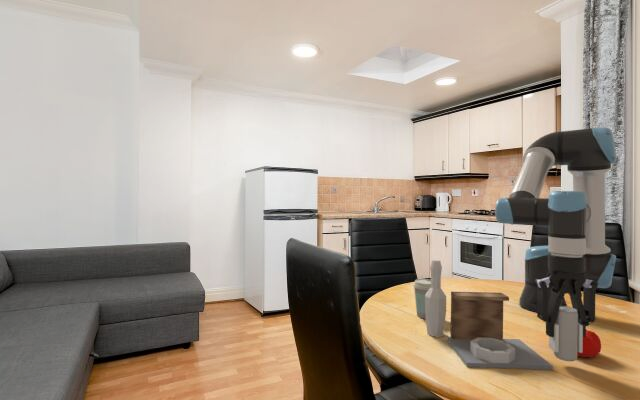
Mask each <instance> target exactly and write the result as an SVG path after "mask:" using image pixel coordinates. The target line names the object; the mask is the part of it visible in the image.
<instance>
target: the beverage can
mask: <svg viewBox="0 0 640 400" xmlns="http://www.w3.org/2000/svg"><path fill="white" fill-rule="evenodd" d="M556 324H558V325H559V352H555V351H553V355H554V356H555V357H556V358H557V359H559V360H561V361H565V362H575V361H576V360H577V359H578V356H577V341H578V313H577V310H576V309H574V308H573V307H571V306H568V305H567V306H560V308H559V312H558V315H557V319H556Z"/></svg>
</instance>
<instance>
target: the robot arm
mask: <svg viewBox="0 0 640 400" xmlns="http://www.w3.org/2000/svg"><path fill="white" fill-rule="evenodd" d="M614 138H615V137H614V134H613V131H612V130H611V128H608V127H591V128H582V129H581V128H580V129H573V130H572V129H571V130H564V131H553V132H550V133H548V134H545V135H543V136H541V137H540V138H538V139H537V140H535V141H534V142H533V143H531V144H530V145H529V146H528V147H527V148H526V149H525V151H524V154H523V156H522V163H523V164H522V165H521V169H520V171H519V173H518V175H517V178H516V180H515V183H514V184H513V187H512V190H511V192H510V194H509V196H508V197H503V198H502V197H501V198H499V199H497V200H496V202H495V206H494V207H495V208H494V215H495V219H496V221H497V222H498V223H500V224H507V225H508V224H509V225H519V226H520V225H522V226H529V225H530V226H542V227H544V226H545V227H548V235H547V236H548V244H547V245H535V246H530V247H527V248H526V250H525V255H524V256H525V257H524V287H523V289H522V291H521V294H520V297H519V300H518V301H519V303H518V305H519V306H520V307H521V308H522V309H525V310H527V311H530V312H531V311H532V312H535V313H537V315H536V317H537V318H538V319H540V320H541V321H543V322H544V323H545V334H546V336H548V348H549V349H550V350H551V351H553V352H554V351H555V352H559V325H558V324H556V319H557V315H558V312H559V308H560V306H567V307H568V304H567V302H566V299H565V294H568V295H569V299H570V302H571V306H572V307H571V308H574V309H576V310H577V313H578V341H577V351H578V352H579V353H583V338H585V336H586V329H587V327H589V326H590V323H595V322H596V291H597V288H599V289H608V288H610V287H611V285H612V283H613V276H614V271H615V265H616V259H617V256H616V255H615V254H614V253H611V252H612V251H611V247H609V246H607V245H606V217H605V216H606V174H607V173H608V172H609V171H610V170H611V169H612V165H613V164H615V163H617V161H618V160H617V152H616V151H617V150H616V144H615V140H614ZM554 166H566V167H567V168H566V169H567V172H569V173H570V174H571V175H572V190H553V191H551V192H550V193H549V195H548V198H547V197H546V198H540V196H541V193H542V190H543V187H544V184H545V183H546V182H545V181H546V178H547V176H548V172H549V170H551V169H552V168H553V167H554ZM582 287H583V293H582V291H581V288H582Z"/></svg>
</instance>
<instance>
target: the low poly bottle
mask: <svg viewBox="0 0 640 400" xmlns="http://www.w3.org/2000/svg"><path fill="white" fill-rule="evenodd" d="M429 267H430V269H429V270H430V280H431V288H430V289H429V290H428V291H427V293H426V294H425V316H426V319H425V324H426V333H427V335H429V336H432V337H435V338H438V337H443V336H444V330H445V324H446V323H445V322H446V316H447V315H446V314H447V295H446V294H445V292H444V290H443V288H441V287H442V284H441V283H442V282H441V281H442V279H441V278H442V270H443V269H442V268H443V267H442V263H441V260H440V259H431V264H430V266H429Z"/></svg>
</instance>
